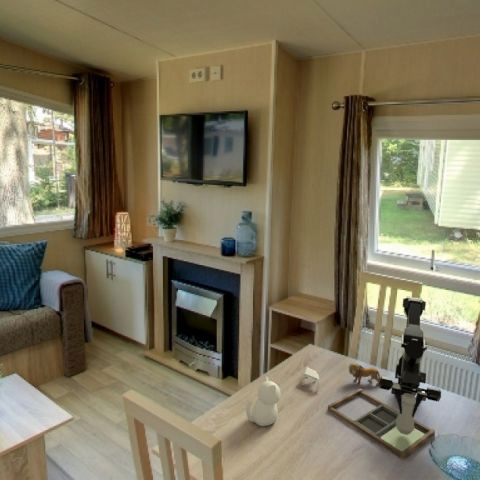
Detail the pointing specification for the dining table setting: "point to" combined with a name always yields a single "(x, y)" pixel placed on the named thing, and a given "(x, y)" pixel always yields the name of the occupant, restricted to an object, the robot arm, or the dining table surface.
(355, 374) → the lion figurine
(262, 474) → the dining table surface
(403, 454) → the wooden frame
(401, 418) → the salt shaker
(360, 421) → the trap pits
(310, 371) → the origami figure
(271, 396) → the cat figurine
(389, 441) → the pad
